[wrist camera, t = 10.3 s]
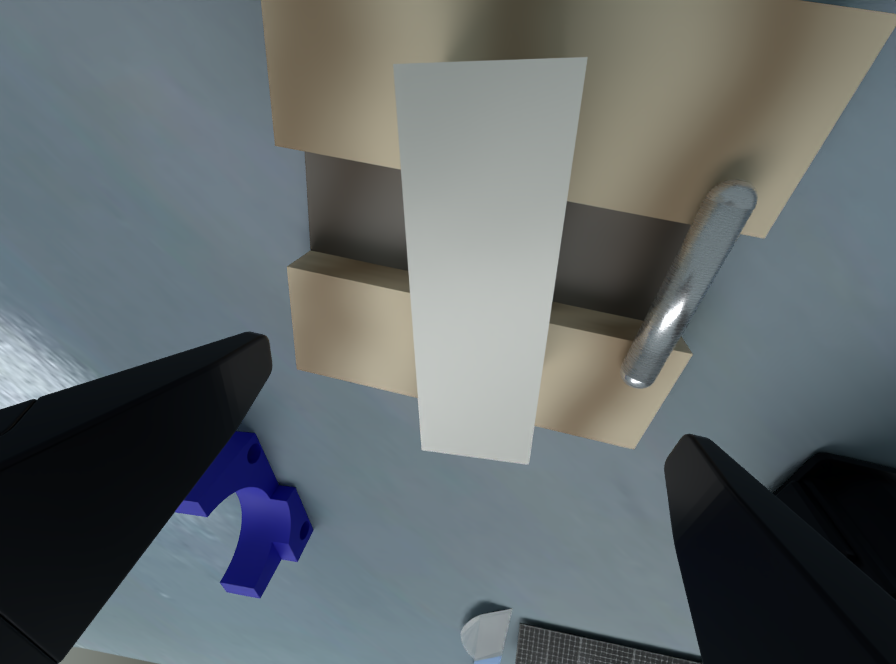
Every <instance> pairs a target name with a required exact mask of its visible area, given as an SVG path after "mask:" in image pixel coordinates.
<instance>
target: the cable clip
mask: <svg viewBox="0 0 896 664" xmlns="http://www.w3.org/2000/svg"><path fill="white" fill-rule="evenodd" d="M234 492H236V494H237V496H238V498H239V500H240V504H241V510H242V524H241V531H240V536H239V541H238V544H237V547H236V550H235V553H234V556H233V558H232V560H231V563H230V565H229V567H228V569H227V571H226V573H225V574H224V576H223V578H222V580H221V581H220V583H221V585H222V586H223V588H224V589H225V590H226V592H229V593H234V594H239V595H244V596H250V597H255V598H261V596H262V594H263V593H264V591H265V589H266V587H267V585H268V583H269V581H270V580H271V578H272V576H273V574H274V572H275V570H276V568H277V567H278V565H279V563H280V561H281V559H282V560H288V561H294V562H298V560H299V558H300V556H301V554H302V552H303V550H304V548H305V546H306V544H307V542H308V540H309V538H310V536H311V534H312V532H313V528H312V525H311V523H310V521H309V518H308V516H307V514H306V511H305V509H304V507H303V504H302V502H301V499H300V497H299V495H298V492H297V490H296V488H295V487H289V486H282V485H279V484H278V482H277V480H276V478H275V475H274V473H273V471H272V469H271V467H270V464H269V462H268V460H267V458H266V456H265V453H264V451H263V449H262V447H261V445H260V442H259V440H258V438H257V436H256V434H255V433H249V432H239V431H235V433H234V434H233V436H232V437H231V438H230V440H229V441H228V442H227V444H226V445H225V446H224V448H223V449H222V450H221V452H220V453H219V454H218V456H217V457H216V458H215V460H214V461H213V462H212V464H211V465H210V466H209V467H208V469H207V470H206V471H205V473H204V474H203V475H202V477H201V478H200V479H199V481H198V482H197V483H196V485H195V486H194V487H193V489H192V490H191V491H190V493H189V494H188V495H187V496H186V498H185V499H184V500H183V502H182V503H181V504H180V506H179V507H178V508H177V510H176V511H175V512H177V513H183V514H190V515H197V516H203V517H208V516H209V515H210V514H211V512H212V511H213V510H214V509H215V508H216V507H217V506H218V505H219V504H220V503H221V502H222V501H223V500H224V499H225V498H227V497H228V496H229V495H231V494H233V493H234Z"/></svg>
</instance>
